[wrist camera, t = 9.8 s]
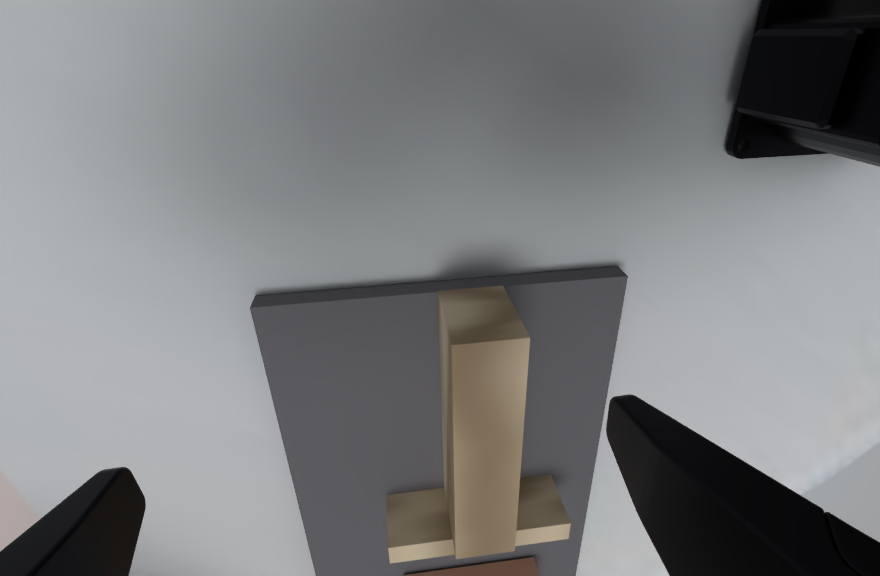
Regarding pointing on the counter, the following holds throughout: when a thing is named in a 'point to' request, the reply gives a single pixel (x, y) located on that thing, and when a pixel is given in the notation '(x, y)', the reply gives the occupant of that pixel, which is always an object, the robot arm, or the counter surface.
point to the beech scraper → (479, 443)
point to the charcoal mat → (428, 405)
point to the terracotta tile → (490, 569)
